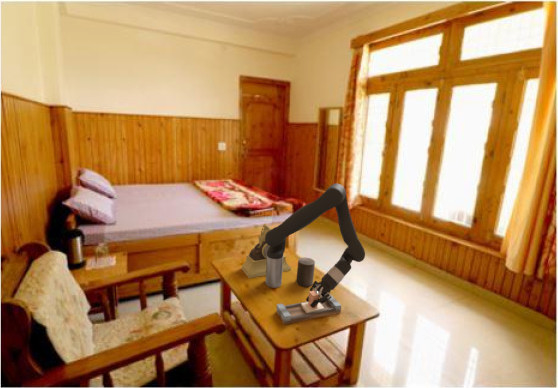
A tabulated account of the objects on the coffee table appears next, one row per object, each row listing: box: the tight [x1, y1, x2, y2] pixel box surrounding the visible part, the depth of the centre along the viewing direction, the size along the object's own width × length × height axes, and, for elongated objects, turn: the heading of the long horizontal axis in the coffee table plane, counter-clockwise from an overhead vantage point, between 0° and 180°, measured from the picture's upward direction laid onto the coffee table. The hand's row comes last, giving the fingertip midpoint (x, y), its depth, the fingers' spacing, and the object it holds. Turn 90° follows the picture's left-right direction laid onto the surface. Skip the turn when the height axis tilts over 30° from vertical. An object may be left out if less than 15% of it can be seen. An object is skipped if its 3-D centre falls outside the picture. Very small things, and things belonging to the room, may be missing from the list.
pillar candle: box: [295, 256, 316, 288], centre depth 169 cm, size 10×10×15 cm
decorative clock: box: [241, 223, 292, 279], centre depth 181 cm, size 28×13×30 cm, turn 117°
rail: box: [276, 293, 342, 325], centre depth 143 cm, size 10×30×4 cm, turn 112°
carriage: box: [300, 290, 324, 313], centre depth 143 cm, size 7×9×8 cm
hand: (309, 303), depth 142 cm, fingers closed on carriage, 4 cm apart
